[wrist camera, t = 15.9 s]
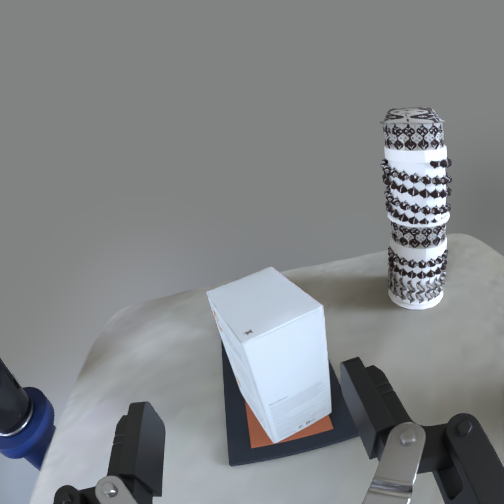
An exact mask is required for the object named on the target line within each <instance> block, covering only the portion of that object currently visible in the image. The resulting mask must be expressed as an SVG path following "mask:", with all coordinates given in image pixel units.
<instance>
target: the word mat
mask: <svg viewBox="0 0 504 504" xmlns="http://www.w3.org/2000/svg"><path fill="white" fill-rule="evenodd" d="M221 339H222V338H221ZM222 360H223V379H224V396H225V412H226V427H227V440H228V453H229V464H230V466H237V465H243V464H249V463H255V462H261V461H266V460H271V459H276V458H281V457H285V456H290V455H294V454H298V453H302V452H306V451H310V450H314V449H318V448H321V447H325V446H328V445H332V444H335V443H338V442H341V441H345V440H348V439H351V438H354V437H357V436H360V435H359V432H358V430H357V428H356V425H355V423H354V421H353V418H352V416H351V414H350V411H349V409H348V407H347V404H346V402H345V400H344V397H343V394H342V390H341V386H340V384H339V382H338V379H337V377H336V375H335V372H334V370H333V368H332V366H331V363H330V361H329V359H328V363H329V376H330V391H331V407H332V412H331V413H330V414H328V415H327V416H325V417H323V418H322V419H320V420H318V421H316V422H315V423H313V424H311V425H309V426H308V427H306V428H304V429H302V430H300V431H299V432H297V433H295V434H293V435H291V436H289V437H287V438H285V439H283V440H281V441H279V442H277V443H273V442H272V440H271V439H270V438H269V436H268V435H267V433H266V432H265V430H264V429H263V427H262V426H261V424H260V422H259V421H258V419H257V418H256V416H255V415H254V413H253V411H252V410H251V408H250V407H249V405H248V403H247V402H246V400H245V398H244V397H243V395H242V393H241V391H240V388H239V386H238V383H237V380H236V377H235V375H234V372H233V369H232V366H231V363H230V361H229V358H228V355H227V353H226V350H225V347H224V344H223V341H222Z"/></svg>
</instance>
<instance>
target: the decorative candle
mask: <svg viewBox="0 0 504 504" xmlns="http://www.w3.org/2000/svg"><path fill="white" fill-rule="evenodd" d="M442 122H444V121H443V120H441V119H440V118H439V116H438V115H437V113H436V112H435V111H434V110H433V109H431V108H395V109H390V110H389V111H388V113H387V115H386V118H385V120H384V121H382V122H380V123H382V124H383V129H384V138H385V146H384V150H385V158H384V159H383V160H382V163H381V167H382V168H383V171H384V174H383V175H382V178H383V182H384V183H385V184H386V185H388V186H387V187H386V190H385V195H386V199H387V200H388V201H387V202H386V206H387V208H386V210H387V211H388V218H389V219H390V220H391V221H392V223H391V225H392V226H391V227H392V233H391V246H390V247H389V248H388V250H389V252H388V255H389V256H390V257H389V259H388V260H389V263H388V264H389V266H390V267H389V269H388V277H389V278H388V287H389V292H388V295H389V296H390V298H391V300H392V301H393V302H394V303H396V304H397V305H399V306H401V307H404V308H407V309H414V310H423V309H427V308H430V307H433V306H435V305H436V304H437V303H439V302H440V300H441V299H442V297H443V290H444V288H443V287H442V286H443V285H445V282H444V281H445V278H444V276H446V272H445V271H444V270H445V268H446V264H447V261H446V258H447V254H448V250H447V249H446V243H447V238H446V234H445V233H446V222H447V221H448V219H449V217H450V214H449V211H450V209H451V208H450V204H449V203H447V202H446V197H448V196H450V195H451V193H452V190H451V189H450V188H449V187H448V186H446V184H448V183H450V182H451V181H452V178H451V176H449V175H448V174H447V173H446V174H445V167H447V168H448V167H449V166H451V165H452V161H451V160H450V159H448V158H447V152H446V146H445V144H444V132H443V123H442ZM446 158H447V159H446ZM388 165H389V166H388ZM387 176H389V177H390V179H389V177H387ZM390 192H391V193H390ZM390 203H391V205H390Z"/></svg>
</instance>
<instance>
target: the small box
mask: <svg viewBox="0 0 504 504" xmlns="http://www.w3.org/2000/svg"><path fill="white" fill-rule="evenodd" d="M207 296H208V299H209V303H210V306H211V309H212V312H213V315H214V318H215V321H216V324H217V327H218V329H219V332H220V335H221V338H222V341H223V344H224V347H225V350H226V353H227V355H228V358H229V361H230V363H231V366H232V369H233V372H234V375H235V377H236V380H237V383H238V386H239V388H240V391H241V393H242V395H243V397H244V398H245V400H246V402H247V403H248V405H249V407H250V408H251V410H252V411H253V413H254V415H255V416H256V418H257V419H258V421H259V422H260V424H261V426H262V427H263V429H264V430H265V432H266V433H267V435H268V436H269V438H270V439H271V440H272V442H273V443H277V442H279V441H281V440H283V439H285V438H287V437H289V436H291V435H293V434H295V433H297V432H299V431H300V430H302V429H304V428H306V427H308V426H309V425H311V424H313V423H315V422H316V421H318V420H320V419H322V418H323V417H325V416H327V415H328V414H330V413H331V412H332V407H331V391H330V376H329V363H328V351H327V340H326V329H325V319H324V309H323V305H322V304H321V303H319V302H318V301H317V300H315V299H314V298H313V297H311V296H310V295H309V294H307V293H306V292H305V291H303V290H302V289H301V288H299V287H298V286H297V285H295V284H294V283H293V282H291V281H290V280H289V279H287V278H286V277H285V276H283V275H282V274H281V273H280V272H278V271H277V270H276V269H274V268H273V267H268V268H266V269H263V270H261V271H258V272H256V273H253V274H251V275H248V276H245V277H243V278H240V279H238V280H235V281H232V282H230V283H227V284H225V285H222V286H220V287H217V288H215V289H212V290H209V291H207Z"/></svg>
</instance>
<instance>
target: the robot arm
mask: <svg viewBox="0 0 504 504" xmlns="http://www.w3.org/2000/svg"><path fill="white" fill-rule="evenodd" d="M340 370H341V390H342V394H343V397H344V400H345V402H346V404H347V407H348V409H349V411H350V414H351V416H352V418H353V421H354V423H355V425H356V428H357V430H358V432H359V435H360V437H361V440H362V442H363V444H364V447H365V449H366V452H367V454H368V456H369V459H373V458H375V457H377V458H378V461H379V465H378V468H377V470H376V473H375V475H374V478H373V480H372V482H371V484H370V487H369V489H368V491H367V494H366V496H365V498H364V500H363V503H362V504H409V501H410V498H411V495H412V487H413V483H414V480H415V477H416V474H419V473H426V472H432V473H433V475H434V477H435V480H436V482H437V485H438V487H439V490H440V492H441V495H442V497H443V500H444V502H445V504H504V467H503V465H502V463H501V461H500V459H499V457H498V456H497V454H496V452H495V450H494V448H493V446H492V445H491V443H490V441H489V439H488V437H487V436H486V434H485V432H484V430H483V429H482V427H481V425H480V424H479V422H478V420H477V419H476V418H475V417H474V416H472V415H470V414H467V413H461V414H457V415H455V416H454V417H452V418H451V419H450V420H449V422H448V423H447V424H441V425H435V426H421V425H418V424H416V423H415V422H413V421H412V420H411V419H410V417H409V416H408V414H407V412H406V410H405V409H404V407H403V405H402V403H401V402H400V400H399V398H398V396H397V395H396V393H395V391H393V388H392V386H391V384H390V383H389V381H388V379H387V378H386V376H385V374H384V373H383V371H381V370H380V369H378V368H377V367H376V366H374V365H372V366H369V367H366V368H365V367H364V365H363V363H362V361H361V359H360V358H359V357H356V358H353V359H350V360H347V361H344V362H341V364H340ZM14 377H15V376H13V375H12V374H11V372H10V371H9V370H8V368H7V367H6V365H5V364H4V363H3V361H2V360H1V358H0V436H1V437H3V438H12V437H15V436H17V435H18V434H20V433H21V432H23V431H24V430H25V429H26V427H27V426H28V425H29V424H30V422H31V420H32V418H33V416H34V412H35V404H34V401H33V400H32V399H31V397H30V396H29V395H27V393H26V392H25V391H24V390H23V388H22V387H21V386H20V384H19V382H18V380H17V379H16V377H15V378H14ZM113 444H114V445H113V446H112V451H111V457H110V462H109V468H108V473H107V476H106V477H103V478H102V479H100V480H99V482H98V483H97V485H96V486H95V487H91V488H87V489H83V490H77V489H76V488H74V487H73V486H70V485H65V486H62V487H60V488H59V489H58V490H57V492H56V493H55V497H54V503H53V504H153V503H152V500H153V496H154V497H162V478H163V461H164V447H165V426H164V423H163V421H162V420H161V418H160V417H159V415H158V414H157V413H156V411H155V410H154V408H153V407H152V406H151V404H150V403H149V402H137V403H131V404H130V406H129V410H128V415H123V416H122V418H121V419H120V421H119V422H118V424H117V426H116V431H115V437H114V441H113Z"/></svg>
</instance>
